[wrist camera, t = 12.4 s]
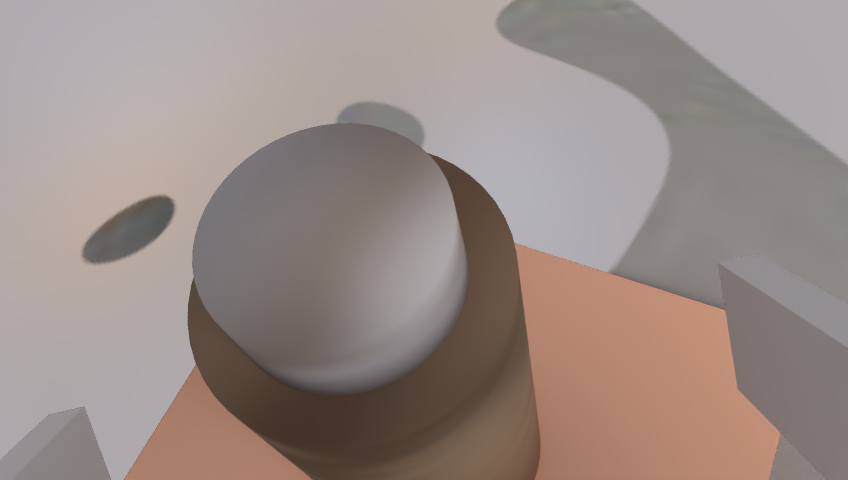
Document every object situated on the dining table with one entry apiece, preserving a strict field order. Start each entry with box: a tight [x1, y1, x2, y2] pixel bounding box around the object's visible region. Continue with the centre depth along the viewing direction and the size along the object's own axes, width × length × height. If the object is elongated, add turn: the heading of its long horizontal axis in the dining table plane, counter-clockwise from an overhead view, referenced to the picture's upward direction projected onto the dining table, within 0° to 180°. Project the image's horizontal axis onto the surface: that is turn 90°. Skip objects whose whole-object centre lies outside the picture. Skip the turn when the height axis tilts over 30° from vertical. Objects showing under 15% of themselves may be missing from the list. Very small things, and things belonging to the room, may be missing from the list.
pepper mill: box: [188, 123, 541, 480], centre depth 20 cm, size 7×7×14 cm
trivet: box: [124, 243, 781, 480], centre depth 26 cm, size 20×16×2 cm
